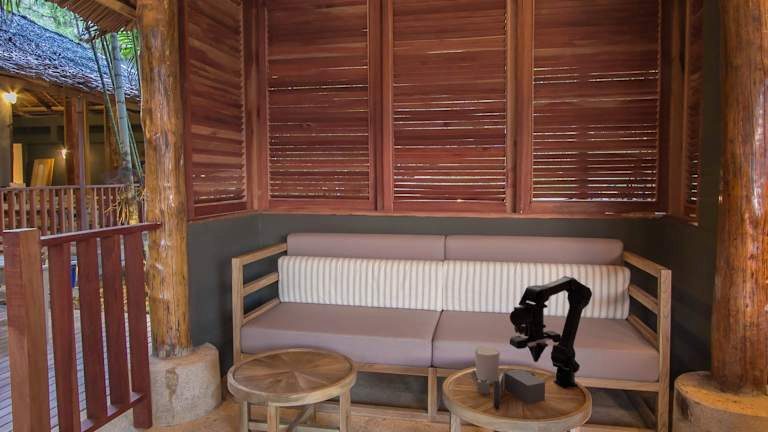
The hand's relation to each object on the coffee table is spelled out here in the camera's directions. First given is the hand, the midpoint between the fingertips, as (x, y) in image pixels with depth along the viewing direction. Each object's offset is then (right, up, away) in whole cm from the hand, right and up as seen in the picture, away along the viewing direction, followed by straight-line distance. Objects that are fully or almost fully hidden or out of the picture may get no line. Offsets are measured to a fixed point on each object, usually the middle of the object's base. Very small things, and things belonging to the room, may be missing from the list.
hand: (535, 361), depth 192 cm
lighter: (-20, -13, +4) cm, 24 cm away
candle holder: (-15, -12, +15) cm, 24 cm away
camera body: (-4, -13, +1) cm, 13 cm away
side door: (-14, -13, -2) cm, 19 cm away
